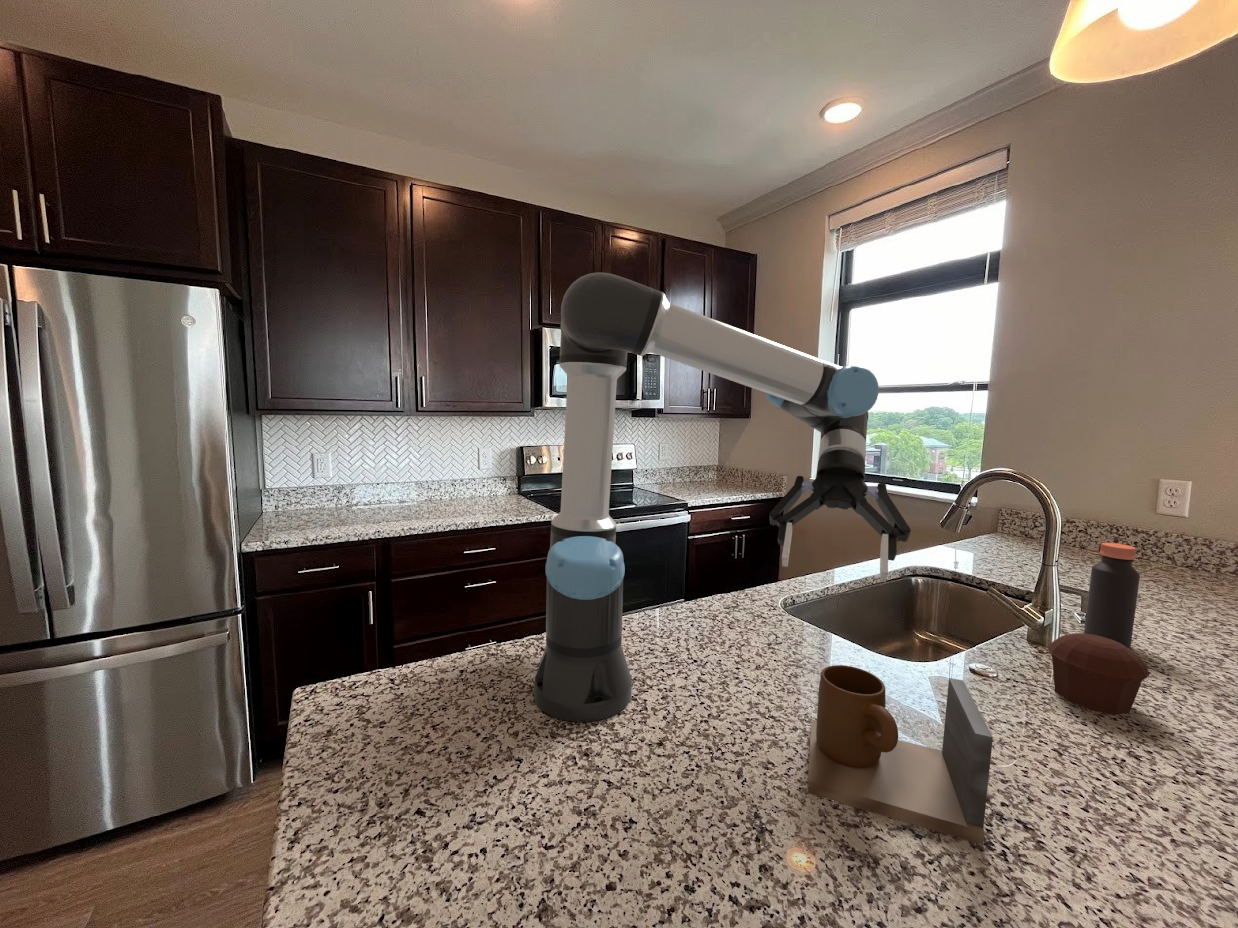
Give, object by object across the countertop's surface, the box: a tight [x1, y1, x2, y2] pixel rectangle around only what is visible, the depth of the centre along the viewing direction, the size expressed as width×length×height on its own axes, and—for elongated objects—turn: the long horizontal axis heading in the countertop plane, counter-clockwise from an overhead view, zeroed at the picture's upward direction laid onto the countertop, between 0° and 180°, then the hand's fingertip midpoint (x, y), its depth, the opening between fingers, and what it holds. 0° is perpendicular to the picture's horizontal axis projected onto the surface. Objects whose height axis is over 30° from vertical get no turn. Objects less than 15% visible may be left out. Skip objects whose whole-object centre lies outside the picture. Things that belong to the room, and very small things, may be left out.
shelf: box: [807, 677, 994, 846], centre depth 60 cm, size 17×13×12 cm
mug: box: [816, 664, 899, 768], centre depth 60 cm, size 12×8×9 cm, turn 7°
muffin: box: [1046, 632, 1151, 717], centre depth 78 cm, size 12×11×10 cm
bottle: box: [1083, 542, 1141, 649], centre depth 99 cm, size 7×7×20 cm
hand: (832, 569), depth 74 cm, fingers open, 13 cm apart
